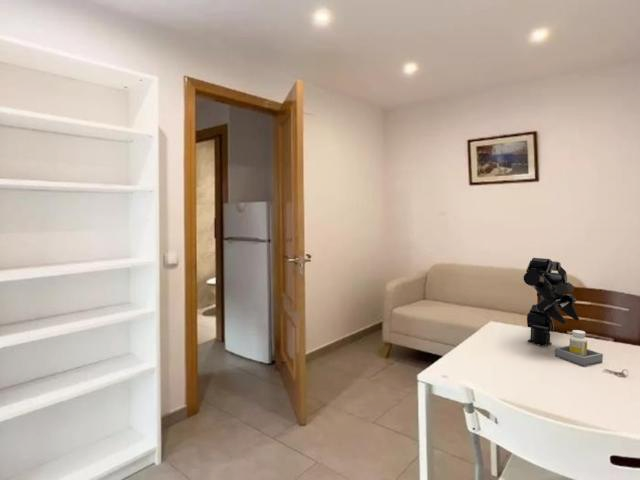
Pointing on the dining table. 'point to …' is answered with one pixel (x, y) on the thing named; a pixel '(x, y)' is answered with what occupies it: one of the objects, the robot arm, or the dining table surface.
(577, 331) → the supplement bottle
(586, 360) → the tray
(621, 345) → the dining table surface
